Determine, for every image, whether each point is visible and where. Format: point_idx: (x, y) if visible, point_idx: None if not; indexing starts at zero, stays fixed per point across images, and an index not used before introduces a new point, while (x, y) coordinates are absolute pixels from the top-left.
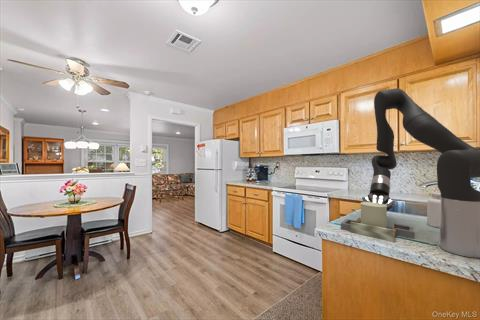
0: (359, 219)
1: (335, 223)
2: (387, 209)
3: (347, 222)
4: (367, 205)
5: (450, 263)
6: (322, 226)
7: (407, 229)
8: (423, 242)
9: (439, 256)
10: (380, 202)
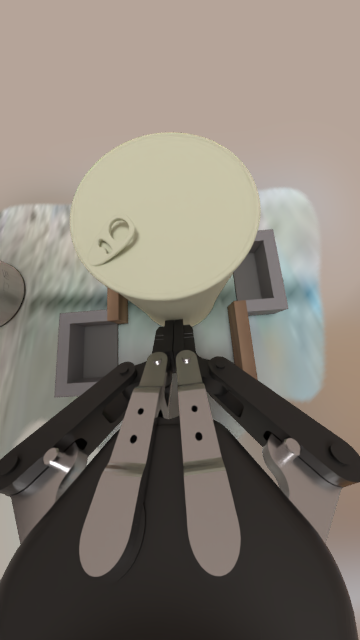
0: (243, 343)
1: (305, 292)
2: (112, 403)
3: (266, 284)
4: (185, 135)
5: (26, 205)
6: (315, 225)
7: (82, 380)
8: (56, 303)
9: (37, 227)
10: (138, 407)
